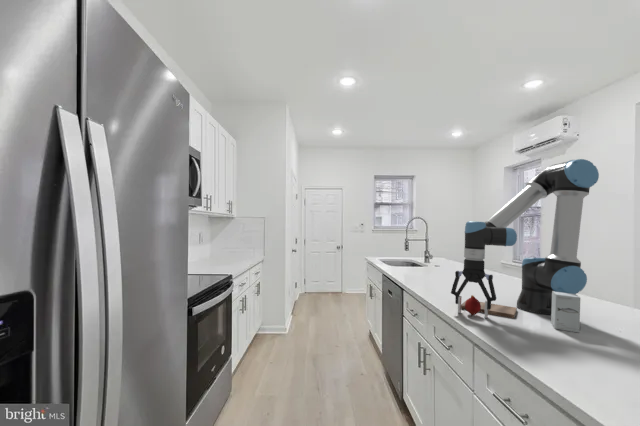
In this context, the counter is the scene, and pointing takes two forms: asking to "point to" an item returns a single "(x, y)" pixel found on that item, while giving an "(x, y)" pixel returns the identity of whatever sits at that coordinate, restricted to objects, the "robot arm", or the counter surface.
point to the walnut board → (497, 310)
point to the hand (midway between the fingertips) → (472, 314)
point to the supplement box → (565, 311)
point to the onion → (472, 305)
